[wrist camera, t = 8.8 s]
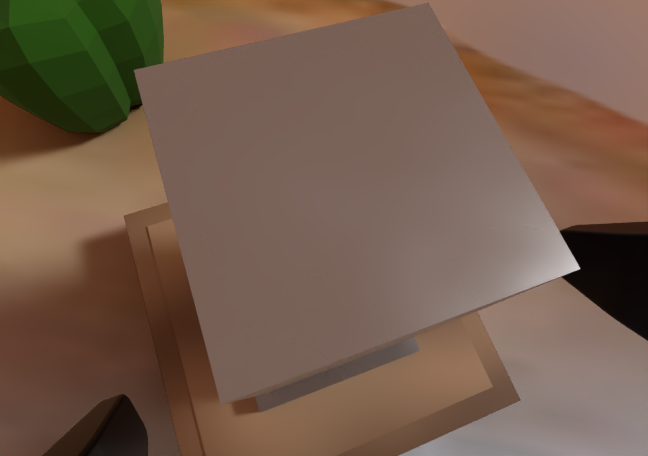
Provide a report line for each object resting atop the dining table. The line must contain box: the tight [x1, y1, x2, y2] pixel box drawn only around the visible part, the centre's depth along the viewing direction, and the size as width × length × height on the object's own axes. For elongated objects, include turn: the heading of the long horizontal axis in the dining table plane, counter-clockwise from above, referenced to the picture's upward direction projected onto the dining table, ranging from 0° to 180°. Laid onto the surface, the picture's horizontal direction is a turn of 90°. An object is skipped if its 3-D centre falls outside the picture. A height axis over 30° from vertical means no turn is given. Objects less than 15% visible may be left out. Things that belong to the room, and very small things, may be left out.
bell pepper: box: [0, 0, 164, 133], centre depth 18 cm, size 8×8×10 cm
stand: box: [124, 203, 520, 456], centre depth 18 cm, size 12×12×3 cm
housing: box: [134, 3, 580, 413], centre depth 11 cm, size 6×6×11 cm
